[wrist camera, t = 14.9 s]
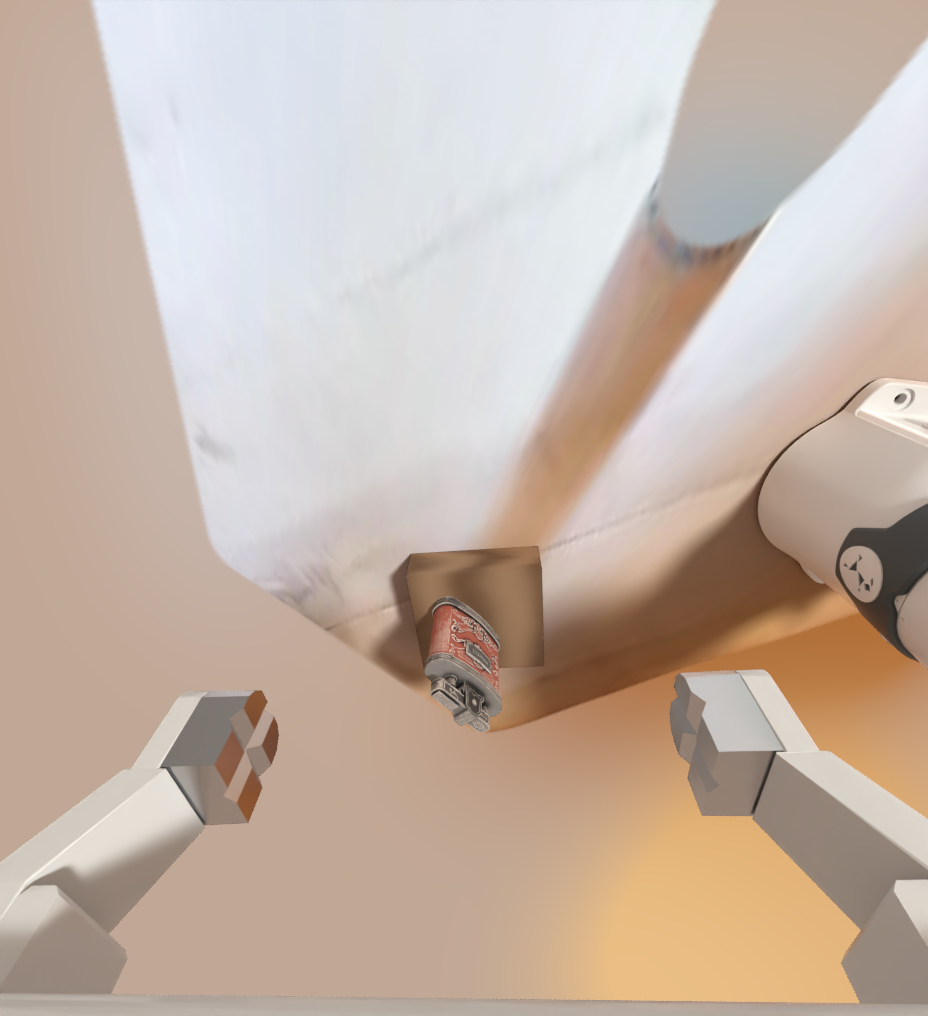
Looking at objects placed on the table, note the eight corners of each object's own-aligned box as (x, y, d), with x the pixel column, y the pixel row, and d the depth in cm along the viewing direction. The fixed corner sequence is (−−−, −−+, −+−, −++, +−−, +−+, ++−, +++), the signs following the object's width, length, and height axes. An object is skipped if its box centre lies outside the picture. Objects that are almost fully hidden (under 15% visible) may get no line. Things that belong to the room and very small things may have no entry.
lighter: (507, 640, 46) (513, 734, 38) (480, 656, 48) (480, 751, 39) (451, 589, 44) (443, 679, 35) (424, 608, 45) (410, 699, 36)
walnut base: (537, 546, 45) (541, 568, 42) (540, 640, 51) (544, 666, 48) (410, 553, 46) (405, 576, 43) (427, 645, 52) (424, 670, 49)
